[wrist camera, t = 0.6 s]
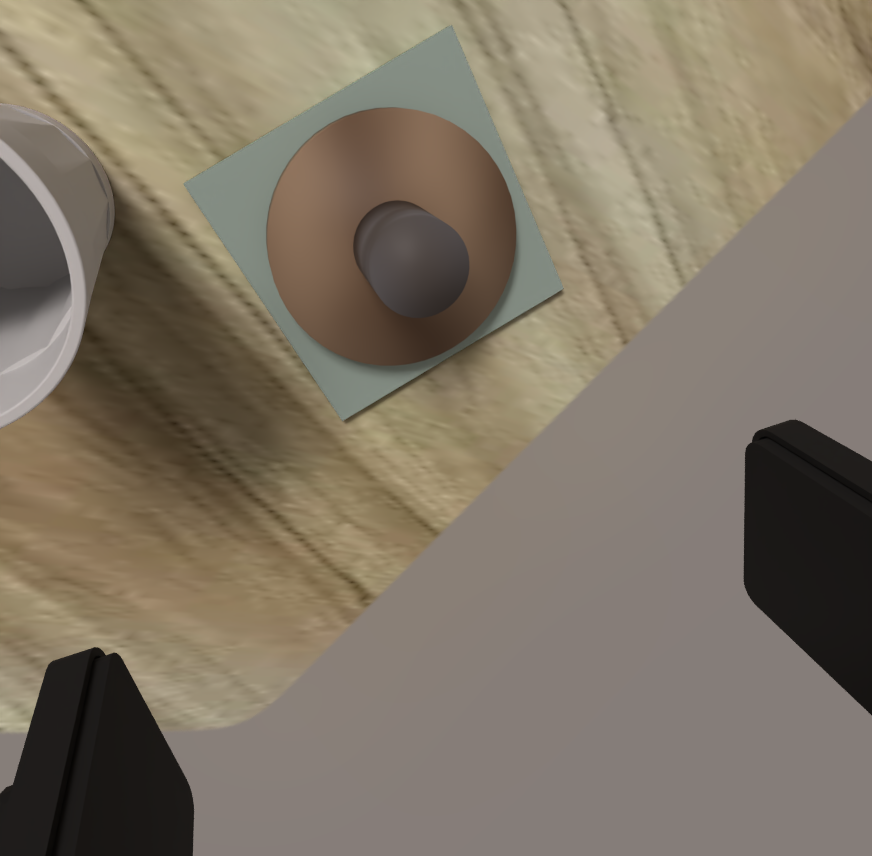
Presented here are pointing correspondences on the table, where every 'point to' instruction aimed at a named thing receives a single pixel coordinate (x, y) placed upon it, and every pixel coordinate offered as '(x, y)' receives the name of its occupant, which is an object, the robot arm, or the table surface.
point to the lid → (391, 236)
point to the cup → (45, 252)
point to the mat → (268, 156)
